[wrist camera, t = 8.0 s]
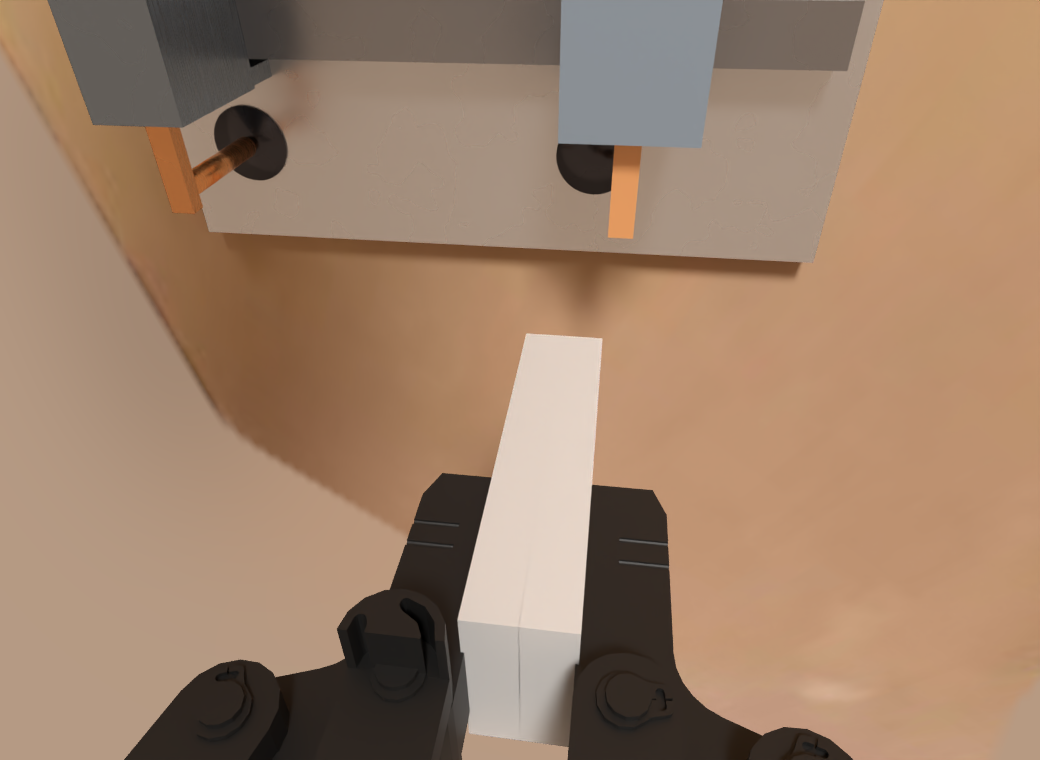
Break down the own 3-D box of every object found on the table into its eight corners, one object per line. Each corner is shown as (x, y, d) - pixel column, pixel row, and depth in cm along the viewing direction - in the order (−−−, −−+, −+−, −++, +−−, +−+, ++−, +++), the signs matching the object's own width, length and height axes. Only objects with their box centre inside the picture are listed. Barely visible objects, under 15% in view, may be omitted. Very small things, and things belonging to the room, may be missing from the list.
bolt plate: (113, -168, 23) (-75, -185, 17) (919, -183, 20) (1043, -212, 14) (222, 221, 32) (121, 303, 25) (807, 250, 29) (854, 351, 22)
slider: (578, -42, 22) (561, -18, 17) (704, -42, 22) (725, -18, 17) (570, 175, 27) (555, 246, 21) (675, 179, 26) (685, 253, 21)
